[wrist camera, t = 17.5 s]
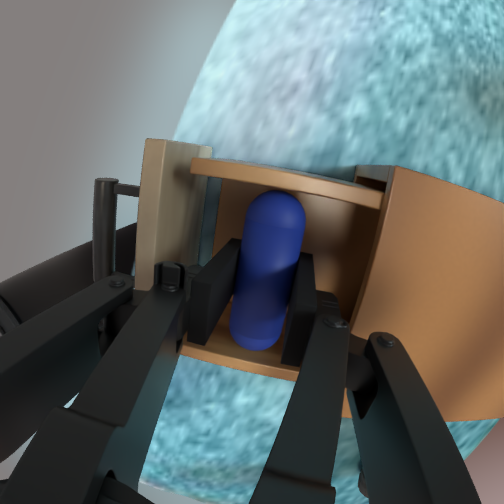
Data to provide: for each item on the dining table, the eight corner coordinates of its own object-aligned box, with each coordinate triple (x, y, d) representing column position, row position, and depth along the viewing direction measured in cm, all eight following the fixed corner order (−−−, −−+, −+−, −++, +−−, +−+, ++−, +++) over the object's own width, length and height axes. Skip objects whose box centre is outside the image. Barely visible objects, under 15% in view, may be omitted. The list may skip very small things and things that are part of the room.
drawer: (128, 286, 25) (74, 327, 18) (138, 140, 21) (72, 135, 14) (365, 339, 23) (383, 404, 16) (410, 187, 19) (461, 200, 12)
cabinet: (315, 331, 24) (317, 414, 15) (356, 164, 20) (395, 165, 11) (472, 353, 23) (513, 416, 14) (520, 218, 19) (591, 247, 9)
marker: (232, 327, 19) (220, 353, 16) (255, 183, 16) (245, 187, 13) (279, 338, 19) (273, 366, 16) (310, 193, 16) (311, 200, 13)
